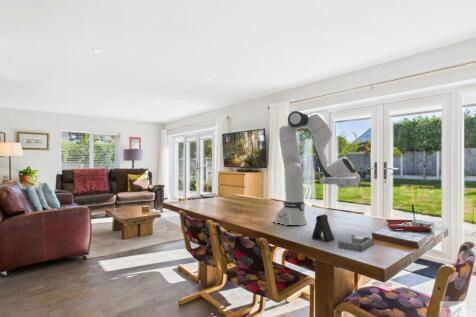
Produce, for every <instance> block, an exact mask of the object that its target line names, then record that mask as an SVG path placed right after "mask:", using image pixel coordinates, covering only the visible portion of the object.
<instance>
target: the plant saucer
mask: <svg viewBox="0 0 476 317" xmlns="http://www.w3.org/2000/svg"><path fill="white" fill-rule="evenodd" d="M413 220H414V219H385V222H386V223H387V224H388V226H390V228H391V229H392V230H393V229H403V230H421V231H420V232H425V231H427V230H428V229H429V227H430V226H428V225H427V224H426V227H418V226H397V224H402V223H404V222H412V221H413ZM418 220H419V221H421V220H420V219H418ZM424 230H425V231H424Z"/></svg>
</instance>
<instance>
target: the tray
mask: <svg viewBox="0 0 476 317" xmlns="http://www.w3.org/2000/svg"><path fill="white" fill-rule="evenodd" d="M354 236H356V234H352V235H351V238H352V237H354ZM360 236H361V235H360ZM361 237H363V236H361ZM364 237H365V242H363V243H362V244H360V245H358V244H353V243H352V242H348V241H347V242H346V241H343V240H342V241H341V240H338V241H337V242H338V247H339V248H341V249H347V250H351V251H357V252H362V251H364V250H366V249H367V248H369V247H370V246H372V245H374V243H375V242H374V237H373V238H372V237H368V236H364Z"/></svg>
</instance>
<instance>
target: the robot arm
mask: <svg viewBox="0 0 476 317" xmlns="http://www.w3.org/2000/svg"><path fill="white" fill-rule="evenodd" d="M305 128H307V129H308V130H309V132H310V133H311V135H312V138H313V145H312V146H313V150H314V153H315V156H316V159H317V160H318V163H319V166H320V167H321V171H322V174H323V177H320V178H319V184H321V185H336V186H337V187H338V188H340V189H347V188H352V187H353V188H354V187H359V185H360V182H361V175H360V174H359V173H358V172H357V171H356V170H357V169H356V166H355V163H354V161H353V160H352V159H351V158H348V157H347V156H342V157H340V158H337V159H336V160H335V161H334V162H331V163H329V161H328V159H327V156H326V154H325V149H326V146H327V145H328V144H329V142H330V141H331V140H332V136H333V132H332V129H331V128H330V126H329V125H328V122H326V120H325V118H324V117H322V115H320V114H319V113H318V112H314V113H311V114H309V115H308V114H306V113H305V112H302V111H300V110H293V111H291V112H290V113H288V116H287V124H284V125H283V124H282V126H281V127H279V130H278V131H279V133H278V134H279V135H278V136H279V144H280V150H281V151H280V152H281V157H282V162H283V169H284V182H285V184H284V185H285V186H284V188H285V201H284V202H283V207H282V208H281V209H279V211H277V212H276V214H275V219H274V220H275V221H274V222H277V223H281V224H284V225H283V226H285V225H300V226H305V224H306V225H307V224H308V222H307V220H306V214H305V201H304V177H303V174H304V173H303V172H304V171H303V168H302V163H301V157H300V156H301V155H300V149H299V144H298V138H297V133H298V132H300V131H302V130H304V129H305ZM277 223H276V224H277ZM281 224H280V225H281Z"/></svg>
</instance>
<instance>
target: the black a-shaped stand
mask: <svg viewBox="0 0 476 317" xmlns="http://www.w3.org/2000/svg"><path fill="white" fill-rule="evenodd" d="M328 219H329V218H328V215H327V214H325V213H324V214H320V215H317V216H316V217H315V220H316V221H315V225H314V229H313V232H312V235H311V236H312V237H311V239H312V240H316V241H321V242H325V243H329V242H331V241H333V240H335V238H334V235H333V231H332V229H331V226H330V224H329V220H328ZM322 235H323V236H322Z"/></svg>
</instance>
